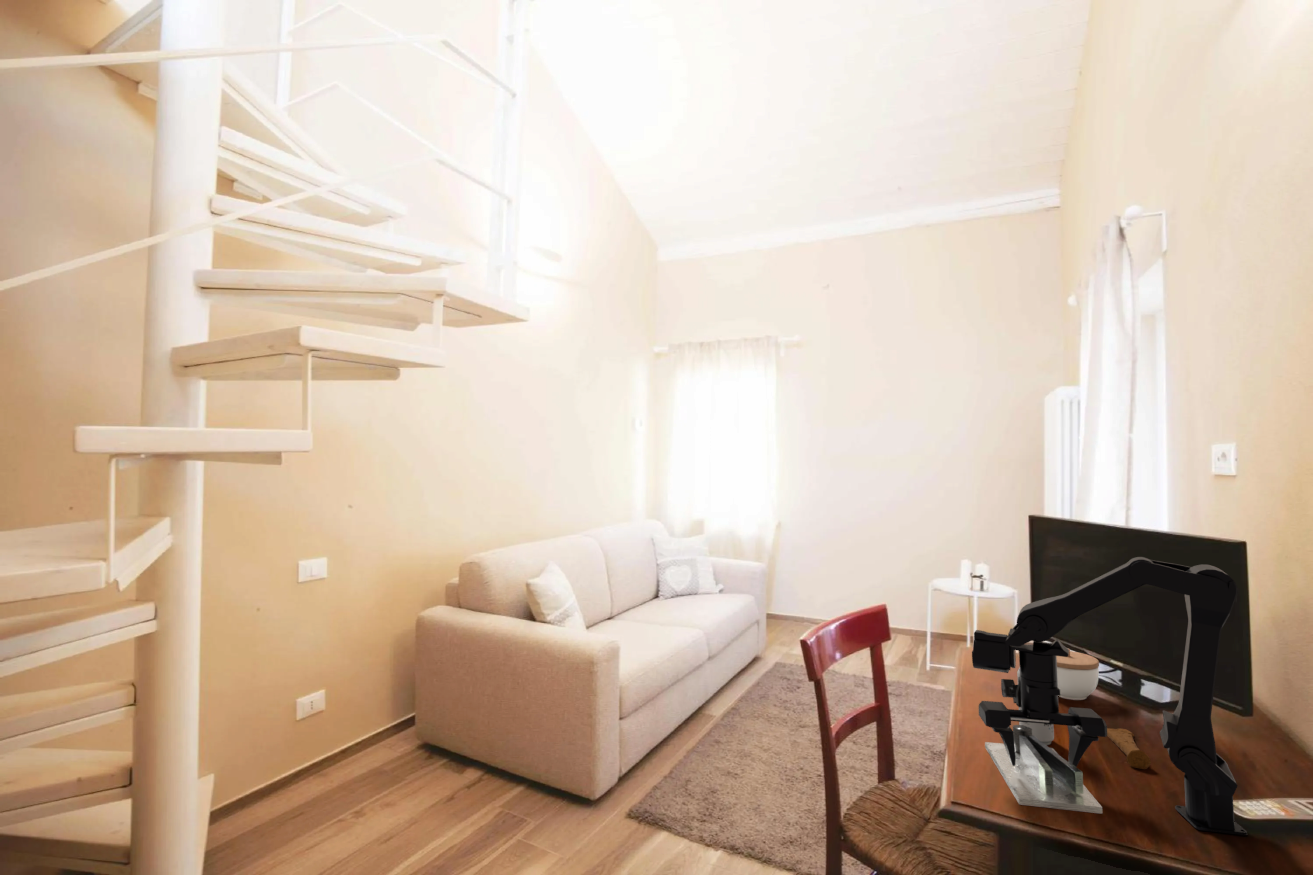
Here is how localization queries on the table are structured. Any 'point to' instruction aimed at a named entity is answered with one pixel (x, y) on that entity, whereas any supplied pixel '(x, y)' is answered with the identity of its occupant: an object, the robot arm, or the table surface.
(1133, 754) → the primitive tool
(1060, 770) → the green glass bar
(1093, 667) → the lidded bowl
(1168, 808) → the table surface
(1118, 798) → the table surface
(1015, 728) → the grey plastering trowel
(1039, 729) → the energy drink can
